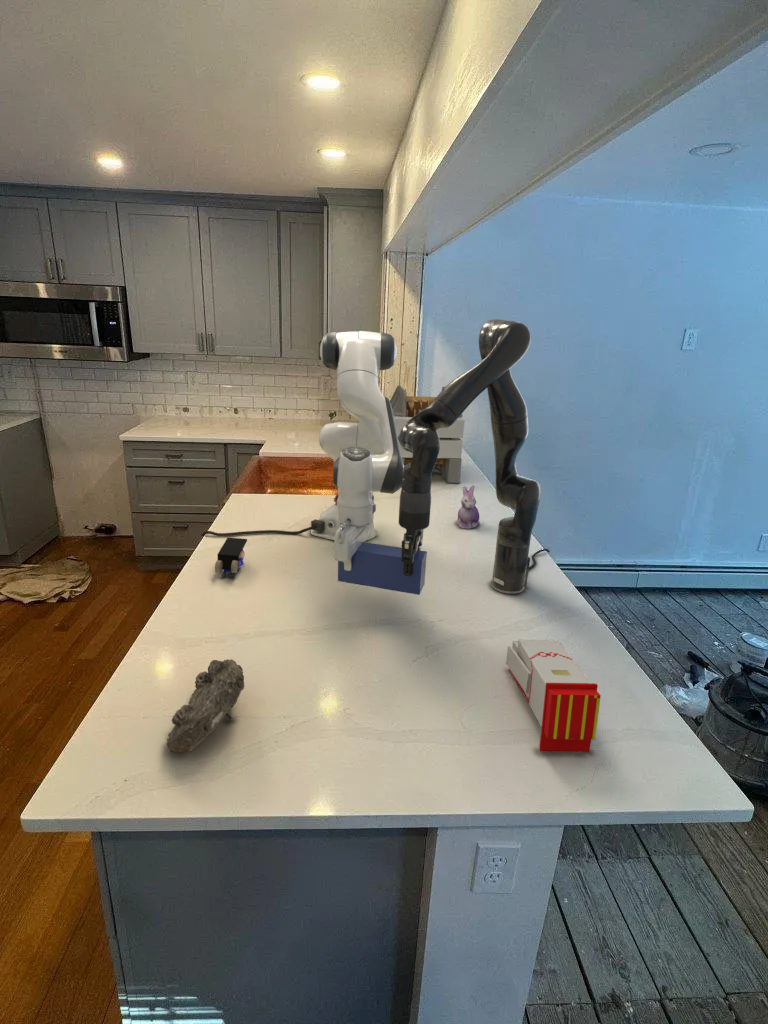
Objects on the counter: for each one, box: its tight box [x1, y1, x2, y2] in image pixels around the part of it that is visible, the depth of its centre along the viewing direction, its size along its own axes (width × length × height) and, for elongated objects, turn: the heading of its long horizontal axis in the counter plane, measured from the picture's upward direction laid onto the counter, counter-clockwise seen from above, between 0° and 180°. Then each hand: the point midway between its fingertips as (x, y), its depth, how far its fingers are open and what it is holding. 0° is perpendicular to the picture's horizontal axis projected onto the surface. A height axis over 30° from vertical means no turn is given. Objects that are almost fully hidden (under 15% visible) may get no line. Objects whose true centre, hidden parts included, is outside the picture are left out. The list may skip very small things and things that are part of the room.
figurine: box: [456, 484, 480, 530], centre depth 209 cm, size 9×10×15 cm
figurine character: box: [214, 537, 248, 578], centre depth 166 cm, size 7×8×15 cm
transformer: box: [389, 384, 465, 484], centre depth 268 cm, size 34×33×41 cm
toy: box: [505, 638, 602, 753], centre depth 114 cm, size 12×13×30 cm
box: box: [337, 541, 428, 596], centre depth 144 cm, size 22×6×9 cm, turn 74°
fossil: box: [166, 658, 245, 754], centre depth 106 cm, size 22×10×15 cm
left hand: (353, 563), depth 146 cm, fingers closed on box, 6 cm apart
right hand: (411, 569), depth 142 cm, fingers closed on box, 6 cm apart
